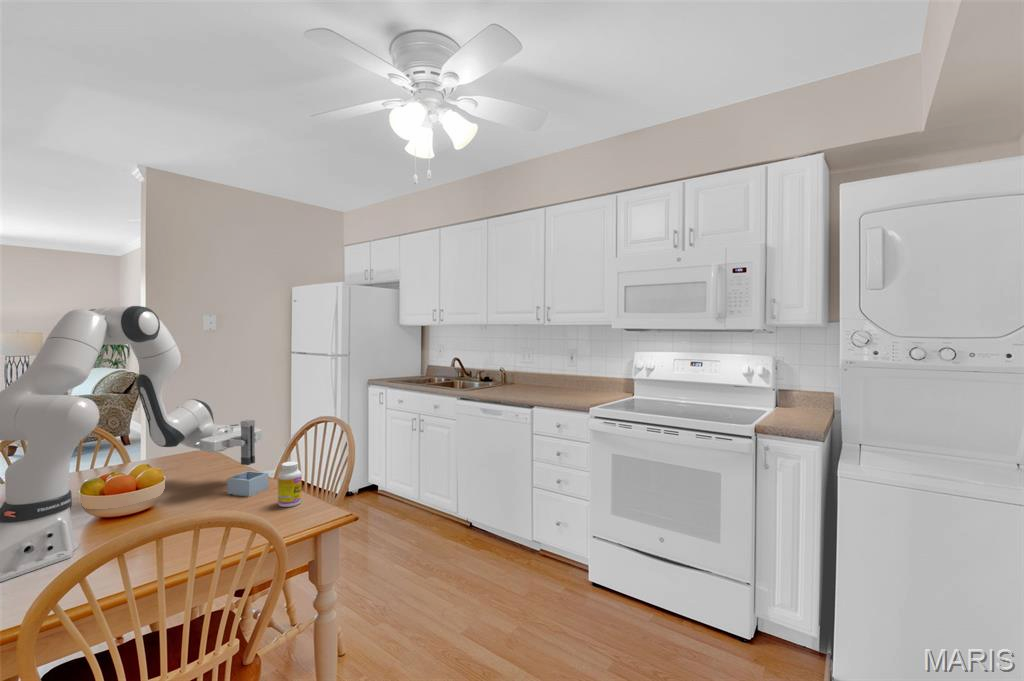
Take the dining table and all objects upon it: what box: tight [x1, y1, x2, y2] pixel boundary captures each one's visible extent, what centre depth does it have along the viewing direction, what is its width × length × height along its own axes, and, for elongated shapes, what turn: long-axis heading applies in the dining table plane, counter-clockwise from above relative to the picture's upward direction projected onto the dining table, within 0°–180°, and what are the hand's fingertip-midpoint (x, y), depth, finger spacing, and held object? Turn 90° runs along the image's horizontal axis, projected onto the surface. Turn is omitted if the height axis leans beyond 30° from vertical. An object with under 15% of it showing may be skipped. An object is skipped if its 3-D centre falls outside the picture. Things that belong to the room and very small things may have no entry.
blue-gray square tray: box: [226, 470, 269, 498], centre depth 163 cm, size 9×9×5 cm
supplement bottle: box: [277, 461, 302, 508], centre depth 152 cm, size 7×7×13 cm
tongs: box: [239, 419, 256, 466], centre depth 162 cm, size 3×3×14 cm
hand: (249, 441), depth 162 cm, fingers closed on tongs, 3 cm apart
